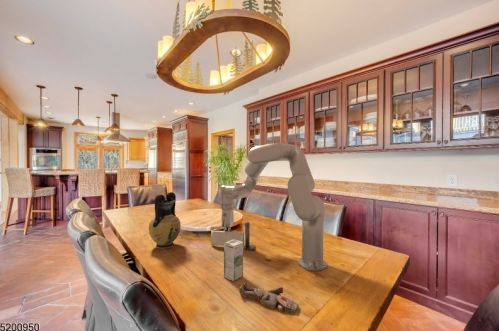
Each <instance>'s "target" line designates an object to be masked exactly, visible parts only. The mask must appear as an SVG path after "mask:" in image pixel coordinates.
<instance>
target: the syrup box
mask: <svg viewBox="0 0 499 331" xmlns="http://www.w3.org/2000/svg"><path fill="white" fill-rule="evenodd" d="M243 276H244V248H243V242H241V241H238V240H234V239H233V240H231V241H228V242H226V243H224V246H223V278H225V279H227V280H229V281H232V282H235V281H237V280H239V279H240V278H242V277H243Z"/></svg>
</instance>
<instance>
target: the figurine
mask: <svg viewBox="0 0 499 331" xmlns="http://www.w3.org/2000/svg"><path fill="white" fill-rule="evenodd" d="M238 291H239V295H240V297H242V298H246V297H247V298H252V299H255V300H256V301H258V302H260V304H261V305H263V306H265V307H267V308H269V309H272V310H276V309H277V311H278V312H280V313H283V312H284V313H287V314H293V315H294V314H295V315H296V313H297V311H298V309H299V306H300V305H299V303H297V302H296V301H294V300H293V299H290V298H288V297H286V296H283V295H282V294H283V293H284V287H283V286H280V287H276V288H271V289H269V290H267V291H266V290H264V289H261V288H256V287H252V286H249V284H248V281H245V282H244V283H243V285H241V286H240V287H239V288H238Z"/></svg>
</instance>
